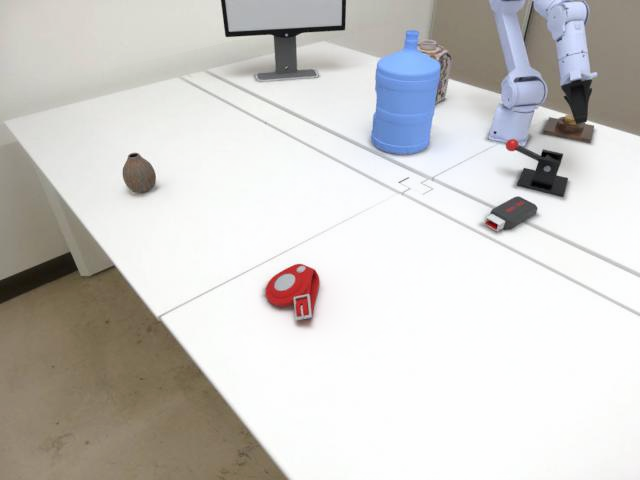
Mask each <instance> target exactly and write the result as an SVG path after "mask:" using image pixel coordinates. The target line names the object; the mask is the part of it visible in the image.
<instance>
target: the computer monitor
mask: <svg viewBox="0 0 640 480" xmlns="http://www.w3.org/2000/svg"><path fill="white" fill-rule="evenodd" d="M220 3H221V5H220V6H221V12H222V21H223V29H224V35H225V37H226V38H236V37H237V38H238V37H251V36H252V37H254V36H255V37H256V36H273V48H274V62H275V63H274V64H275V65H274V66H275V71H262V72H257V73H256V74H255V78H256V81H257V82H261V83H262V82H275V81H277V82H278V81H290V80H303V79H315V78H319V74H318V71H317V70H316V69H313V68H305V69H298V55H297V53H298V52H297V36H299V35H301V34H305V33H322V32H323V33H324V32H339V31H341V32H342V31H345V30H346V16H347V15H346V14H347V0H220Z"/></svg>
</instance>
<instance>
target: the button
mask: <svg viewBox="0 0 640 480" xmlns="http://www.w3.org/2000/svg"><path fill="white" fill-rule="evenodd" d="M564 117H565V118H564V121H563V122H564V123H566V124H569V125H579V124H576V122H575V120H574V117H573V114H572V113H570V114H569V113H568V114H566V115H565V116H564Z"/></svg>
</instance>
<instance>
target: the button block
mask: <svg viewBox="0 0 640 480" xmlns="http://www.w3.org/2000/svg"><path fill="white" fill-rule="evenodd" d="M564 118H565V116H560V117H558V118H556V117H550V116H549V117H548V118H547V121H546V124H545V127H544V129H543V131H542V135H546V136H551V137H556V138H561V139H565V140H570V141H576V142H581V143H586V144H591V141H592V139H593V135H594V134H593V133H594V129H595V125H594V124H588V123H586V122H584V123H579V125H569V124H566V123H564V122H563V121H564Z"/></svg>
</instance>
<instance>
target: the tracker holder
mask: <svg viewBox="0 0 640 480" xmlns="http://www.w3.org/2000/svg"><path fill="white" fill-rule="evenodd" d="M319 287H320V276H319V274H318V272H317V271H316V269H315V268H312V267H310V266H307V265H306V264H303V263H296V264H295V263H294V264H293V265H291V266H289V267H286V268H285V269H283V270H281V271H279V272H278V273H276V274H274V275H273V277H271V278H270V280H269V281H268V283H267V284H266V287H265V297H266V299H267V300H268V302H269V303H270V304H272V305H273V306H277V307H285V306H291V305H292V304H293V307H294V317H295V321H301V320H306V319H307V320H308V319H312V317H313V314H314V309H315V305H316V299H317V296H318V292H319Z"/></svg>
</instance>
